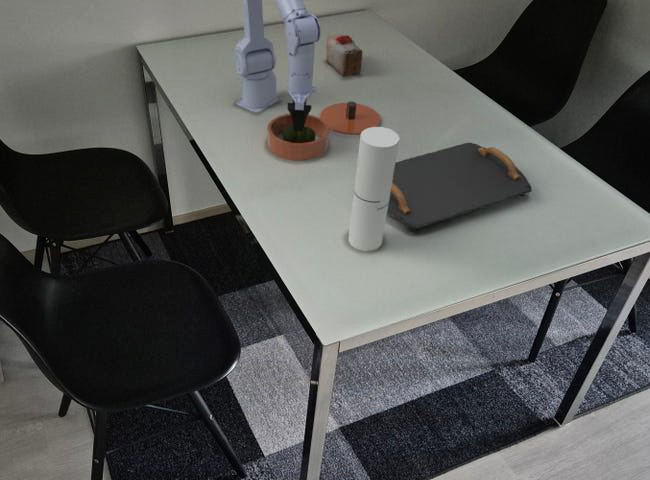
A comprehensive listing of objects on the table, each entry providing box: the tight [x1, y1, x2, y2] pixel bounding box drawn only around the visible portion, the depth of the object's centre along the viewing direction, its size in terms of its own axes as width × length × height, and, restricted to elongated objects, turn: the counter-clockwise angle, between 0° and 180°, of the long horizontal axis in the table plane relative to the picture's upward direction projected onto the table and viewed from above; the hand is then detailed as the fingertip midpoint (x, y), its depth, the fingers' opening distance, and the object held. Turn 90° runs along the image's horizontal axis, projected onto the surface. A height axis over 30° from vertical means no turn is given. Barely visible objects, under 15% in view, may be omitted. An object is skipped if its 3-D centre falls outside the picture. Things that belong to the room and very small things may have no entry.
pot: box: [267, 113, 330, 162], centre depth 160 cm, size 15×15×5 cm
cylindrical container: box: [348, 126, 400, 252], centre depth 127 cm, size 7×7×25 cm
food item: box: [325, 33, 363, 78], centre depth 192 cm, size 14×8×10 cm, turn 23°
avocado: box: [282, 125, 317, 143], centre depth 160 cm, size 8×5×5 cm, turn 88°
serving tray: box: [387, 142, 533, 233], centre depth 147 cm, size 39×23×6 cm, turn 117°
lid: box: [319, 101, 381, 136], centre depth 170 cm, size 16×16×5 cm
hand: (298, 122), depth 158 cm, fingers open, 7 cm apart
